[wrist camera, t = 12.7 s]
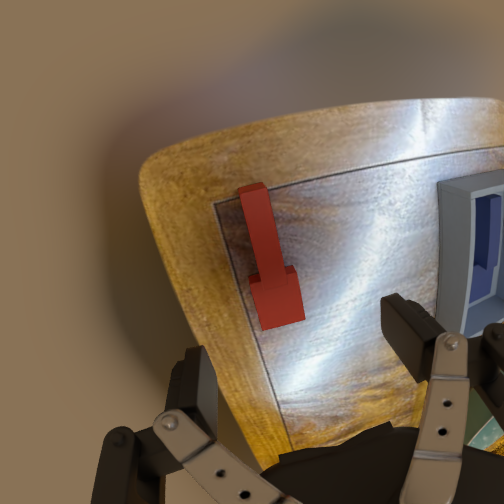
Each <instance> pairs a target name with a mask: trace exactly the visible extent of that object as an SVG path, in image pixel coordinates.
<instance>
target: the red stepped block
mask: <svg viewBox="0 0 504 504" xmlns="http://www.w3.org/2000/svg"><path fill="white" fill-rule="evenodd" d="M238 192H239V196H240V200H241V204H242V208H243V212H244V216H245V220H246V224H247V227H248V231H249V235H250V239H251V243H252V247H253V251H254V255H255V259H256V263H257V267H258V270H259V274H256V275H252V276H249V277H248V278H249V285H250V288H251V292H252V295H253V299H254V303H255V306H256V310H257V313H258V317H259V321H260V324H261V328H262V331H264V330H268V329H272V328H276V327H280V326H284V325H287V324H291V323H295V322H299V321H302V320H305V319H306V318H305V313H304V308H303V302H302V297H301V291H300V286H299V281H298V276H297V272H296V270H295V268H294V266H293V265H291V266H287V267H285V266H284V261H283V257H282V252H281V247H280V243H279V238H278V234H277V229H276V225H275V220H274V216H273V212H272V207H271V203H270V199H269V194H268V190H267V187H266V186H265V185H264V184H263V183H262V182H260V183H256V184H252V185H248V186H244V187H240V188H238Z"/></svg>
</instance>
